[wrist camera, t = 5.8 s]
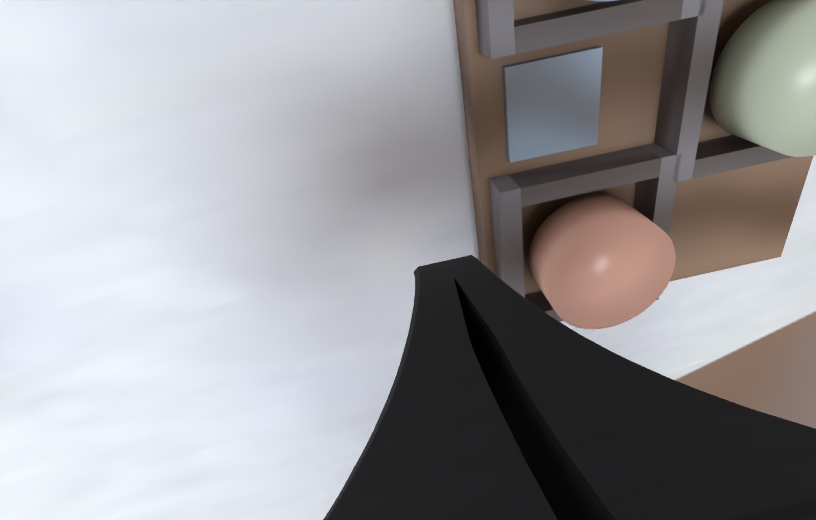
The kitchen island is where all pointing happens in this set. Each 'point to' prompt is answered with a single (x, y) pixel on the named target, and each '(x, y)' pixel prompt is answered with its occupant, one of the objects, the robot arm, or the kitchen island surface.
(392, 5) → the kitchen island surface
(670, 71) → the panel
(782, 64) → the button sage
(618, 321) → the button terracotta
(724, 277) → the kitchen island surface
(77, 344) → the kitchen island surface
